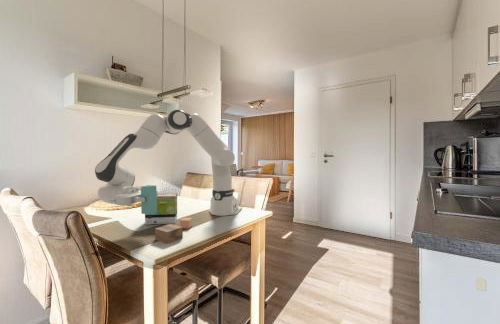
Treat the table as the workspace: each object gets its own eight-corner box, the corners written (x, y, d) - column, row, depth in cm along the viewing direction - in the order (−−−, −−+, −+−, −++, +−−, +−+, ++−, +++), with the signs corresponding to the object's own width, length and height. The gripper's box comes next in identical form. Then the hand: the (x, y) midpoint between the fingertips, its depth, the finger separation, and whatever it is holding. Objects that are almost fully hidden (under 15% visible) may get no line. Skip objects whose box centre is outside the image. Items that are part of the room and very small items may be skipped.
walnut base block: (170, 234, 110) (170, 223, 110) (182, 238, 106) (182, 226, 106) (155, 240, 104) (155, 228, 104) (167, 244, 99) (167, 232, 99)
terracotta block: (183, 225, 123) (183, 217, 123) (192, 225, 123) (192, 217, 123) (180, 228, 119) (180, 220, 119) (189, 228, 118) (188, 220, 118)
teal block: (149, 211, 111) (148, 185, 111) (156, 212, 110) (156, 185, 109) (141, 213, 107) (140, 186, 107) (149, 214, 106) (148, 187, 105)
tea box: (144, 225, 123) (144, 196, 122) (148, 219, 132) (148, 192, 132) (175, 223, 126) (175, 195, 125) (177, 218, 135) (177, 192, 135)
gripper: (106, 193, 103) (130, 195, 98) (144, 186, 122) (166, 187, 117) (107, 207, 104) (131, 210, 98) (144, 198, 122) (166, 200, 117)
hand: (150, 198), depth 108 cm, fingers closed on teal block, 4 cm apart
